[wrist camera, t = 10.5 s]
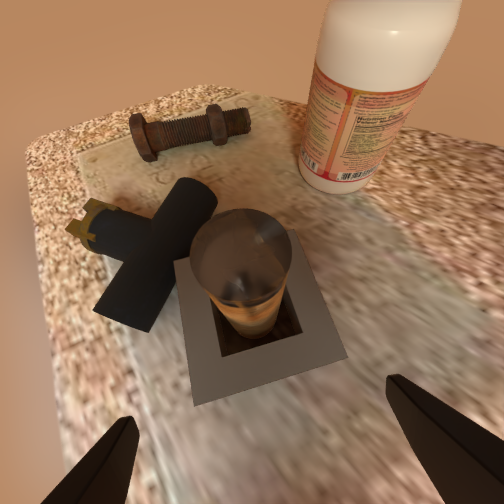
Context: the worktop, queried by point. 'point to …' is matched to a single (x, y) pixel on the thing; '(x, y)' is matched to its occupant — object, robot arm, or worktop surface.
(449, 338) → the worktop surface
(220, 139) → the bolt
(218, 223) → the brown round cylinder
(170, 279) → the pipe connector
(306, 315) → the docking block
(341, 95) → the fruit juice
